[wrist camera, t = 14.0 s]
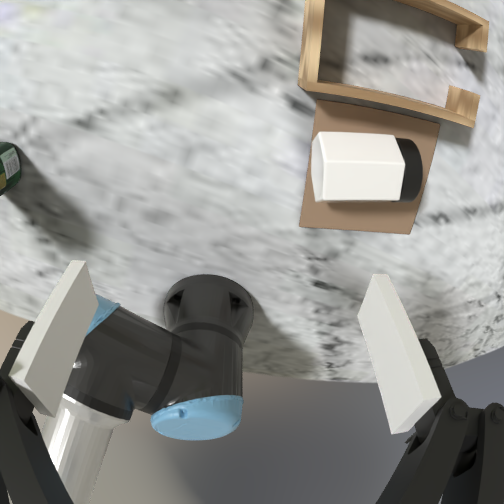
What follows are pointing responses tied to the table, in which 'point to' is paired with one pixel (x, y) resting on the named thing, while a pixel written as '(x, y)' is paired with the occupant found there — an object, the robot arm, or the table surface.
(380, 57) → the table surface
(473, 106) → the crate
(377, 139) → the jar
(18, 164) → the coffee jar
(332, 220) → the mat
